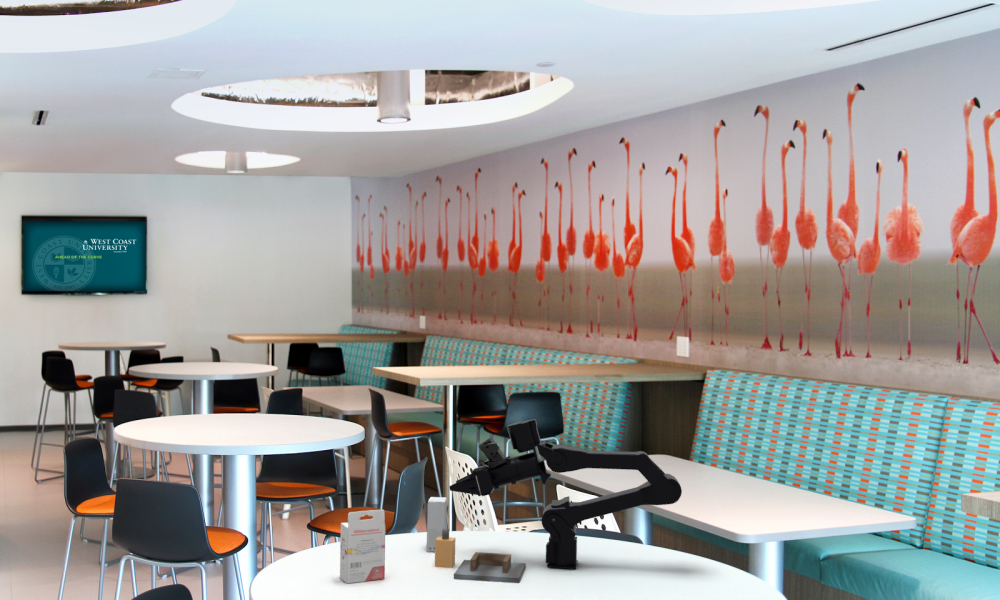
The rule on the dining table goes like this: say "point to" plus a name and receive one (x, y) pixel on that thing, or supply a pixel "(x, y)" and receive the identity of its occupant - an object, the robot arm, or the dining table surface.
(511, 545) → the dining table surface
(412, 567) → the dining table surface
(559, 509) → the robot arm
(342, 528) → the ink cartridge box
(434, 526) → the skincare box
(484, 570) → the end holder
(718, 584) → the dining table surface
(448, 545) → the connector plug
